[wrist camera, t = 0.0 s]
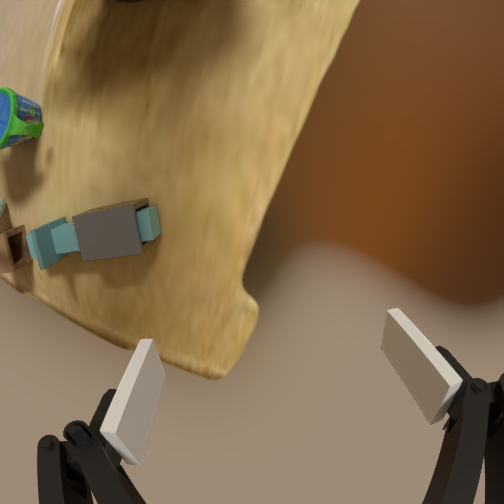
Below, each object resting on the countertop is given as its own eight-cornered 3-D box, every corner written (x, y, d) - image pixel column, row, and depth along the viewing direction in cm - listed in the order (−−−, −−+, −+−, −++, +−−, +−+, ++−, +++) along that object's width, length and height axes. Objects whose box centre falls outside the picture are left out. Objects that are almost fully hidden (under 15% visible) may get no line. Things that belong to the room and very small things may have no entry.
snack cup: (67, 107, 33) (30, 100, 23) (43, 164, 36) (4, 169, 26) (20, 85, 30) (-14, 78, 20) (0, 135, 32) (-35, 137, 23)
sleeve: (92, 208, 39) (72, 216, 33) (147, 197, 39) (132, 204, 33) (101, 248, 41) (82, 261, 35) (155, 240, 41) (142, 253, 35)
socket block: (7, 229, 38) (-13, 238, 32) (24, 224, 38) (2, 233, 32) (15, 262, 41) (-4, 274, 35) (32, 259, 41) (13, 271, 35)
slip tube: (39, 223, 38) (9, 236, 30) (156, 198, 39) (136, 208, 30) (47, 255, 40) (19, 272, 32) (163, 237, 40) (145, 256, 32)
